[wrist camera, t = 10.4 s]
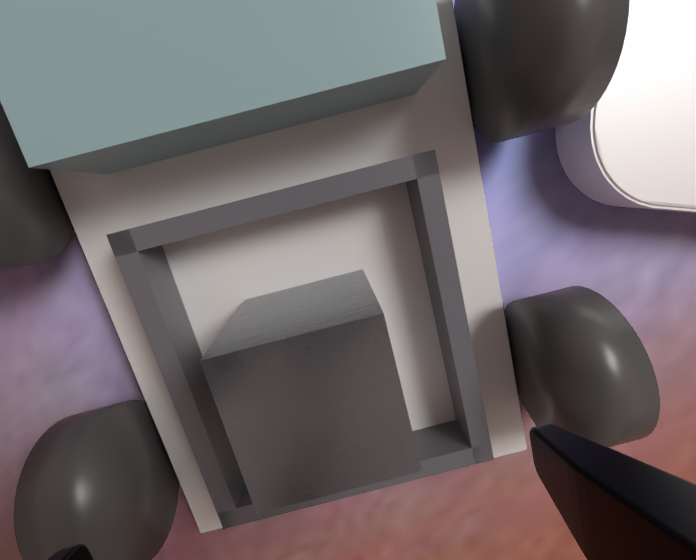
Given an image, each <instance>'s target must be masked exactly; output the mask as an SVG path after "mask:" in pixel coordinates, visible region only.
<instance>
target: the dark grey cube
mask: <svg viewBox="0 0 696 560" xmlns="http://www.w3.org/2000/svg"><path fill="white" fill-rule="evenodd" d="M200 363H201V366H202V368H203V371H204V374H205V376H206V379H207V382H208V384H209V387H210V390H211V393H212V395H213V398H214V401H215V403H216V406H217V409H218V411H219V414H220V417H221V419H222V422H223V425H224V427H225V430H226V433H227V436H228V438H229V441H230V444H231V446H232V449H233V452H234V454H235V457H236V460H237V462H238V465H239V468H240V471H241V473H242V476H243V479H244V481H245V484H246V487H247V489H248V492H249V495H250V497H251V500H252V503H253V506H254V508H255V511H256V514H258V513H262V512H266V511H270V510H273V509H277V508H281V507H285V506H289V505H293V504H297V503H301V502H304V501H308V500H312V499H316V498H320V497H324V496H328V495H331V494H335V493H339V492H343V491H347V490H351V489H355V488H359V487H362V486H366V485H370V484H374V483H378V482H382V481H386V480H389V479H393V478H397V477H401V476H405V475H409V474H413V473H417V472H420V471H422V468H421V464H420V460H419V456H418V452H417V448H416V444H415V440H414V435H413V431H412V427H411V423H410V419H409V415H408V411H407V407H406V403H405V399H404V395H403V390H402V386H401V382H400V378H399V374H398V370H397V366H396V362H395V358H394V354H393V350H392V345H391V341H390V337H389V333H388V329H387V325H386V321H385V317H384V313H383V311H382V309H381V306H380V304H379V302H378V300H377V298H376V296H375V294H374V292H373V290H372V287H371V285H370V283H369V281H368V279H367V277H366V275H365V273H364V271H363V269H361V270H357V271H354V272H350V273H346V274H342V275H338V276H334V277H331V278H327V279H323V280H319V281H315V282H311V283H308V284H304V285H300V286H296V287H292V288H288V289H285V290H281V291H277V292H273V293H269V294H265V295H261V296H258V297H254V298H250V299H246V300H245V302H244V303H243V304H242V305H241V307H240V308H239V309H238V311H237V312H236V313H235V315H234V316H233V317H232V319H231V320H230V321H229V323H228V324H227V325H226V327H225V328H224V329H223V331H222V332H221V333H220V335H219V336H218V337H217V339H216V340H215V341H214V342H213V344H212V345H211V346H210V348H209V349H208V350H207V352H206V353H205V354H204V356H203V357H202V358H201V360H200Z"/></svg>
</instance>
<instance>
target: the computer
mask: <svg viewBox="0 0 696 560" xmlns="http://www.w3.org/2000/svg"><path fill="white" fill-rule="evenodd" d="M555 138H556V146H557V152H558V155H559V159H560V162H561V165H562V167H563V169H564V171H565V173H566V175H567V177H568V178H569V180H570V181H571V182H572V183H573V184H574V185H575V187H576V188H577V189H578V190H579V191H581V192H582V193H583V194H585V195H586V196H587V197H589V198H591V199H593V200H595V201H597V202H599V203H602V204H606V205H610V206H618V207H630V208H642V209H653V210H665V211H677V212H689V213H696V0H630V2H629V16H628V23H627V30H626V36H625V40H624V44H623V49H622V52H621V55H620V59H619V62H618V65H617V67H616V70H615V72H614V75H613V77H612V79H611V81H610V83H609V85H608V87H607V89H606V91H605V92H604V94H603V95H602V97H601V98H600V100H599V101H598V103H597V104H596V105H595V106H594V107H593V108H592V110H590V111H589V112H588V113H587V114H586V115H585V116H584V117H582V118H581V119H579V120H577V121H575V122H573V123H570V124H567V125H563V126H559V127H556V134H555Z"/></svg>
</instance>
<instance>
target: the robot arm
mask: <svg viewBox="0 0 696 560" xmlns="http://www.w3.org/2000/svg"><path fill="white" fill-rule="evenodd" d="M530 441H531V447H532V453H533V459H534V465H535V468H536V471H537V473H538V475H539V477H540V479H541V481H542V482H543V484H544V486H545V488H546V489H547V491H548V493H549V495H550V496H551V498H552V500H553V502H554V503H555V505H556V507H557V509H558V510H559V512H560V514H561V515H562V517H563V519H564V521H565V522H566V524H567V526H568V528H569V529H570V531H571V533H572V535H573V536H574V538H575V540H576V542H577V543H578V545H579V547H580V548H581V550H582V552H583V553H584V555H585V557H586V558H587V560H696V484H693V483H691V482H689V481H686V480H684V479H682V478H679V477H677V476H674V475H672V474H670V473H667V472H665V471H663V470H660V469H658V468H656V467H653V466H651V465H648V464H646V463H644V462H641V461H639V460H637V459H634V458H632V457H630V456H627V455H625V454H622V453H620V452H618V451H615V450H613V449H611V448H608V447H606V446H604V445H601V444H599V443H596V442H594V441H592V440H589V439H587V438H585V437H582V436H580V435H578V434H575V433H573V432H571V431H568V430H566V429H563V428H561V427H559V426H556V425H554V424H544V425H540V426H537V427H533V428H532V429H531V430H530ZM47 560H94V559H93V557H92V555H91V553H90V551H89V549H88V548H87V546H85V545H84V544H77V545H73V546H70V547H66V548H63V549H60V550H58V551H57V552H56V553H54V554H53V555H52V556H51V557H49V558H48V559H47Z"/></svg>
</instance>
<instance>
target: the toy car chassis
mask: <svg viewBox="0 0 696 560" xmlns="http://www.w3.org/2000/svg"><path fill="white" fill-rule="evenodd" d="M629 2H630V0H455V5H454V9H453V3H452V0H0V272H1V271H5V270H9V269H13V268H16V267H20V266H24V265H28V264H32V263H36V262H39V261H43V260H47V259H50V258H52V257H54V256H56V255H58V254H59V253H60V252H61V251H63V250H64V249H65V247H66V246H67V245H68V243H69V241H70V239H71V237H72V234H73V230H75V232H76V235H77V237H78V239H79V242H80V244H81V247H82V249H83V251H84V254H85V256H86V259H87V261H88V263H89V266H90V268H91V271H92V273H93V275H94V278H95V280H96V283H97V285H98V287H99V290H100V292H101V295H102V297H103V299H104V302H105V304H106V307H107V309H108V311H109V314H110V316H111V319H112V321H113V323H114V326H115V328H116V331H117V333H118V335H119V338H120V340H121V343H122V345H123V348H124V350H125V352H126V355H127V357H128V360H129V362H130V364H131V367H132V369H133V372H134V374H135V376H136V379H137V381H138V384H139V386H140V388H141V391H142V393H143V396H144V398H145V400H146V402H144V401H141V400H131V401H126V402H122V403H118V404H114V405H111V406H107V407H103V408H99V409H95V410H91V411H87V412H83V413H80V414H76V415H72V416H69V417H66V418H64V419H62V420H60V421H58V422H57V423H55V424H54V425H53V426H51V427H50V428H49V429H48V430H47V431H46V432H45V433H44V434H43V435H42V436H41V438H40V439H39V440H38V441H37V443H36V444H35V446H34V447H33V449H32V450H31V452H30V454H29V456H28V458H27V460H26V462H25V464H24V467H23V469H22V472H21V475H20V478H19V482H18V486H17V491H16V497H15V505H14V528H15V534H16V541H17V544H18V547H19V551H20V553H21V556H22V558H23V560H47V559H48V558H49V557H51V556H52V555H53V554H54V553H56V552H57V551H58V550H60V549H63V548H66V547H70V546H73V545H77V544H84V545H85V546H87V548H88V549H89V551H90V553H91V555H92V557H93V559H94V560H152V559H153V558H154V556H155V555H156V554H157V553H158V552H159V550H160V549H161V547H162V546H163V544H164V542H165V540H166V538H167V536H168V534H169V531H170V529H171V526H172V523H173V520H174V516H175V512H176V506H177V501H178V491H179V482H180V484H181V487H182V489H183V492H184V494H185V496H186V499H187V501H188V504H189V506H190V509H191V511H192V513H193V516H194V518H195V521H196V523H197V525H198V528H199V530H200V533H204V532H208V531H212V530H216V529H220V528H223V529H225V528H229V527H233V526H236V525H240V524H244V523H248V522H252V521H256V520H260V519H264V518H268V517H271V516H275V515H279V514H283V513H287V512H291V511H295V510H299V509H303V508H306V507H310V506H314V505H318V504H322V503H326V502H330V501H334V500H338V499H341V498H345V497H349V496H353V495H357V494H361V493H365V492H369V491H373V490H376V489H380V488H384V487H388V486H392V485H396V484H400V483H404V482H407V481H411V480H415V479H419V478H423V477H427V476H431V475H435V474H439V473H442V472H446V471H450V470H454V469H458V468H462V467H466V466H470V465H474V464H477V463H481V462H485V461H489V460H493V459H494V458H496V457H500V456H503V455H507V454H511V453H515V452H519V451H523V450H527V447H526V441H525V435H524V429H523V423H522V417H521V411H520V405H519V399H518V394H519V396H520V398H521V400H522V402H523V404H524V406H525V408H526V410H527V412H528V413H529V415H530V417H531V418H532V420H533V421H534V423H535V424H536V426H540V425H544V424H554V425H556V426H559V427H561V428H563V429H566V430H568V431H571V432H573V433H575V434H578V435H580V436H582V437H585V438H587V439H589V440H592V441H594V442H596V443H599V444H601V445H604V446H606V447H611V446H615V445H619V444H623V443H627V442H631V441H635V440H639V439H642V438H645V437H647V436H648V435H649V434H650V433H652V432H653V430H654V428H655V427H656V424H657V421H658V418H659V411H660V397H659V390H658V384H657V380H656V376H655V373H654V370H653V367H652V364H651V362H650V359H649V357H648V354H647V352H646V350H645V348H644V346H643V344H642V342H641V341H640V339H639V337H638V336H637V334H636V332H635V331H634V329H633V328H632V326H631V325H630V324H629V322H628V321H627V320H626V318H625V317H624V316H623V315H622V314H621V313H620V311H619V310H618V309H617V308H616V307H615V306H614V305H613V304H612V303H611V302H609V301H608V300H607V299H606V298H604V297H603V296H602V295H600V294H598V293H597V292H595V291H593V290H591V289H589V288H585V287H582V286H572V287H567V288H563V289H559V290H555V291H552V292H548V293H544V294H540V295H536V296H532V297H528V298H524V299H521V300H517V301H513V302H511V303H509V304H508V305H507V306H506V308H505V310H504V309H503V303H502V297H501V291H500V285H499V279H498V273H497V267H496V261H495V255H494V249H493V243H492V237H491V231H490V225H489V219H488V213H487V207H486V201H485V195H484V189H483V183H482V177H481V171H480V165H479V159H478V153H477V147H476V141H475V135H474V129H473V124H474V126H475V127H476V129H477V130H478V131H479V132H480V133H481V135H482V136H484V137H485V138H486V139H488V140H490V141H493V142H501V141H505V140H509V139H513V138H517V137H521V136H524V135H528V134H532V133H536V132H540V131H544V130H548V129H551V128H555V127H559V126H563V125H567V124H570V123H573V122H575V121H577V120H579V119H581V118H582V117H584V116H585V115H586V114H587V113H588V112H589V111H590V110H592V108H593V107H594V106H595V105H596V104H597V103H598V101H599V100H600V98H601V97H602V95H603V94H604V92H605V91H606V89H607V87H608V85H609V83H610V81H611V79H612V77H613V75H614V72H615V70H616V67H617V65H618V62H619V59H620V55H621V52H622V49H623V44H624V40H625V36H626V30H627V23H628V16H629ZM472 122H473V123H472ZM361 269H363V271H364V273H365V275H366V277H367V279H368V281H369V283H370V285H371V287H372V290H373V292H374V294H375V296H376V298H377V300H378V302H379V304H380V306H381V309H382V311H383V313H384V317H385V321H386V325H387V329H388V333H389V337H390V341H391V345H392V350H393V354H394V358H395V362H396V366H397V370H398V374H399V378H400V382H401V386H402V390H403V395H404V399H405V403H406V407H407V411H408V415H409V419H410V423H411V427H412V431H413V435H414V440H415V444H416V448H417V452H418V456H419V460H420V464H421V468H422V471H420V472H417V473H413V474H409V475H405V476H401V477H397V478H393V479H389V480H386V481H382V482H378V483H374V484H370V485H366V486H362V487H359V488H355V489H351V490H347V491H343V492H339V493H335V494H331V495H328V496H324V497H320V498H316V499H312V500H308V501H304V502H301V503H297V504H293V505H289V506H285V507H281V508H277V509H273V510H270V511H266V512H262V513H258V514H256V511H255V508H254V506H253V503H252V500H251V497H250V495H249V492H248V489H247V487H246V484H245V481H244V479H243V476H242V473H241V471H240V468H239V465H238V462H237V460H236V457H235V454H234V452H233V449H232V446H231V444H230V441H229V438H228V436H227V433H226V430H225V427H224V425H223V422H222V419H221V417H220V414H219V411H218V409H217V406H216V403H215V401H214V398H213V395H212V393H211V390H210V387H209V384H208V382H207V379H206V376H205V374H204V371H203V368H202V366H201V363H200V360H201V358H202V357H203V356H204V354H205V353H206V352H207V350H208V349H209V348H210V346H211V345H212V344H213V342H214V341H215V340H216V339H217V337H218V336H219V335H220V333H221V332H222V331H223V329H224V328H225V327H226V325H227V324H228V323H229V321H230V320H231V319H232V317H233V316H234V315H235V313H236V312H237V311H238V309H239V308H240V307H241V305H242V304H243V303H244V302H245V300H246V299H250V298H254V297H258V296H261V295H265V294H269V293H273V292H277V291H281V290H285V289H288V288H292V287H296V286H300V285H304V284H308V283H311V282H315V281H319V280H323V279H327V278H331V277H334V276H338V275H342V274H346V273H350V272H354V271H357V270H361ZM517 391H518V393H517Z"/></svg>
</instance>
